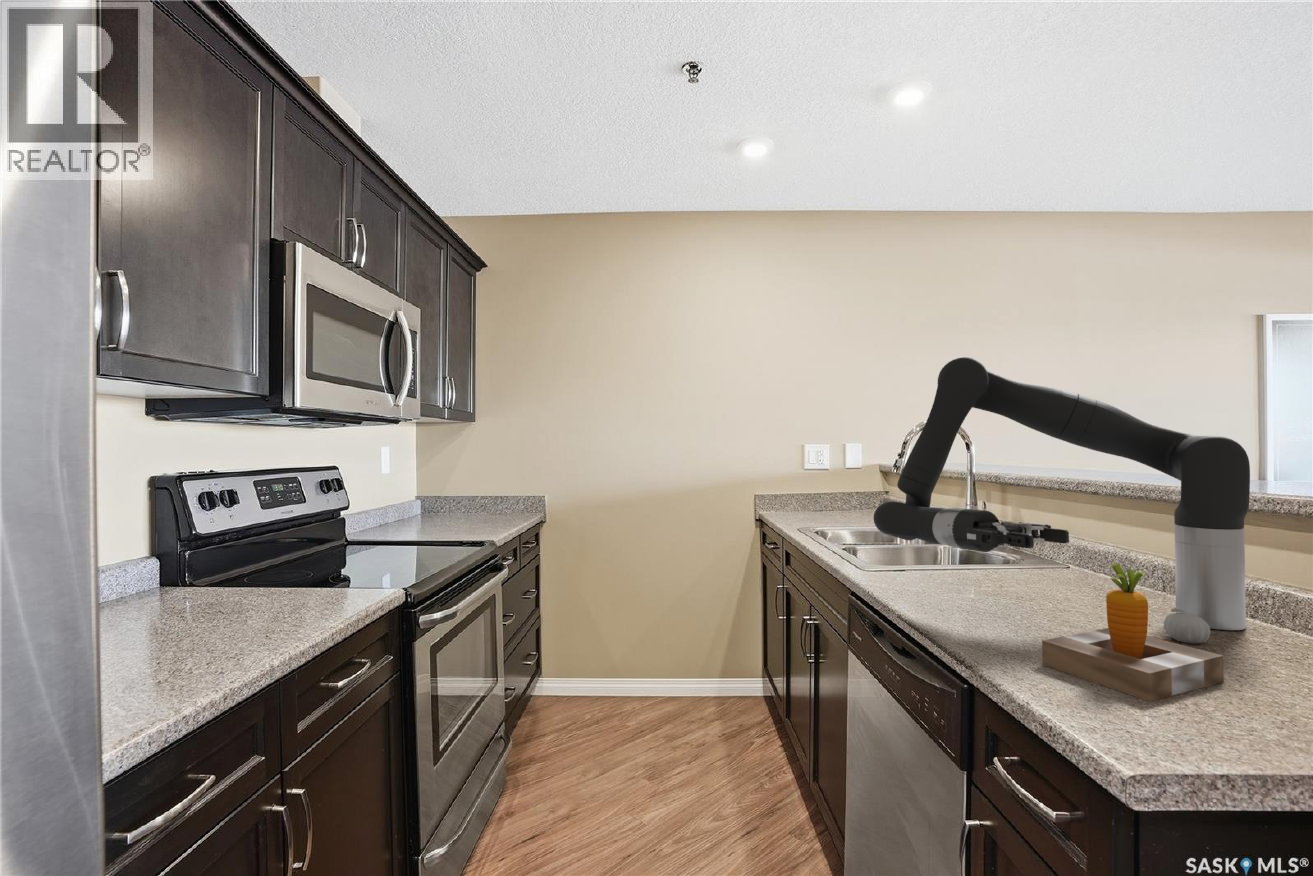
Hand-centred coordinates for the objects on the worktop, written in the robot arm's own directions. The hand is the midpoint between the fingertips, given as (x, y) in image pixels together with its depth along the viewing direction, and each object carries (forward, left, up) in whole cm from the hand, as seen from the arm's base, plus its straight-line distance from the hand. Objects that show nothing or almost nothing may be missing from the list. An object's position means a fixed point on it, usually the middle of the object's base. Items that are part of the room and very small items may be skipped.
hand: (1050, 539), depth 100 cm
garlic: (-20, +8, -17) cm, 27 cm away
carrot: (+3, +13, -17) cm, 22 cm away
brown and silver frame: (+3, +13, -17) cm, 22 cm away
